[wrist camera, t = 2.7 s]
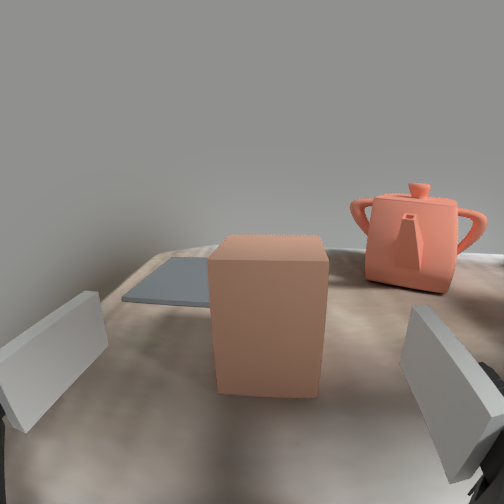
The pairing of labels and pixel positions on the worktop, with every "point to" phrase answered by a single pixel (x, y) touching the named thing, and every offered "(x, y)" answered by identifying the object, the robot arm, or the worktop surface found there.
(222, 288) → the block
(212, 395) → the worktop surface
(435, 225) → the teapot
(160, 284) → the mat
